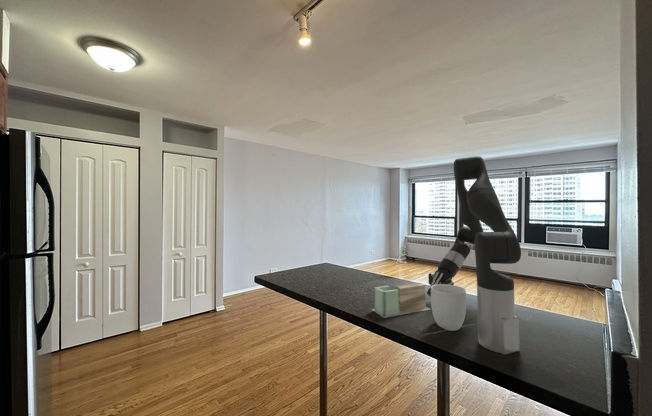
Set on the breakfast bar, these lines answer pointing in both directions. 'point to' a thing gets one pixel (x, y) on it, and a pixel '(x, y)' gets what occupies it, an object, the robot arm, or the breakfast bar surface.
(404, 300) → the tan wooden block
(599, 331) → the breakfast bar surface
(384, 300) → the end cap
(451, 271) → the robot arm
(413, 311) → the board
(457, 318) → the mug
